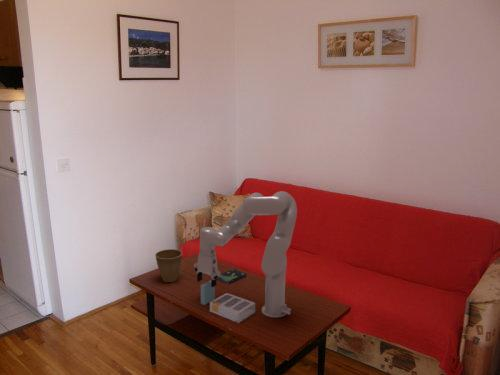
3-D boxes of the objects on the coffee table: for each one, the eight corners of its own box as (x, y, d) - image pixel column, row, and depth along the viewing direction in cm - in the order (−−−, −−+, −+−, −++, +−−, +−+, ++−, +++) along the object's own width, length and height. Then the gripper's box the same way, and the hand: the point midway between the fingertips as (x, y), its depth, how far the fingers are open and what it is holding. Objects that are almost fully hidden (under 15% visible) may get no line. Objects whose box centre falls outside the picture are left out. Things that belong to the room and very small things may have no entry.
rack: (255, 312, 211) (255, 302, 210) (238, 323, 200) (238, 312, 199) (226, 301, 221) (226, 292, 220) (209, 311, 211) (209, 301, 210)
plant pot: (174, 272, 257) (174, 247, 254) (187, 281, 246) (187, 254, 242) (151, 279, 248) (150, 252, 244) (163, 288, 236) (163, 260, 233)
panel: (214, 299, 224) (214, 281, 222) (204, 305, 218) (204, 286, 216) (211, 297, 226) (211, 280, 224) (200, 303, 219) (200, 285, 217)
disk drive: (233, 273, 259) (215, 280, 248) (233, 268, 259) (215, 275, 248) (246, 277, 253) (229, 285, 242) (246, 273, 252) (229, 280, 241)
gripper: (225, 254, 214) (224, 286, 218) (199, 245, 224) (199, 276, 228) (215, 258, 208) (214, 291, 212) (189, 249, 218) (189, 281, 222)
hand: (206, 283), depth 220 cm, fingers open, 9 cm apart
